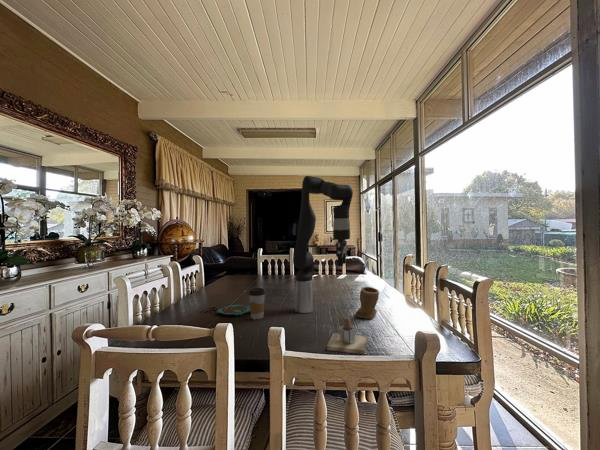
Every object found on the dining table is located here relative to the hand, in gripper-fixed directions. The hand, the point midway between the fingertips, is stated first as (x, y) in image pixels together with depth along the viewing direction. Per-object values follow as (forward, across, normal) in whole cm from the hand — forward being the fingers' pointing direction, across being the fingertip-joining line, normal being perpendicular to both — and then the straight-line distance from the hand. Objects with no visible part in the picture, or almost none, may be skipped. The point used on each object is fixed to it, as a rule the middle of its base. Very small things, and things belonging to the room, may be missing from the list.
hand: (341, 264), depth 129 cm
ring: (+28, +14, +4) cm, 32 cm away
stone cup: (+30, -26, +9) cm, 41 cm away
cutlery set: (+31, -15, -68) cm, 76 cm away
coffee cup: (+30, -7, -46) cm, 55 cm away
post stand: (+30, +14, +4) cm, 33 cm away
